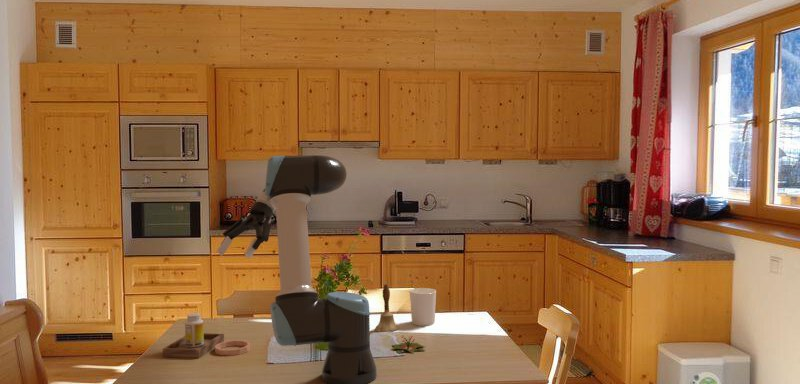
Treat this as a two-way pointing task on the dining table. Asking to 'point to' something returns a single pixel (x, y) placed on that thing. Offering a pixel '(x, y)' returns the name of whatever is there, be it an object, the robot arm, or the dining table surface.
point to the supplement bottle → (194, 330)
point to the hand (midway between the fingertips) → (233, 254)
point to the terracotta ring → (232, 351)
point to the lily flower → (408, 344)
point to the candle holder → (423, 306)
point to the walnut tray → (186, 352)
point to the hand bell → (386, 314)
